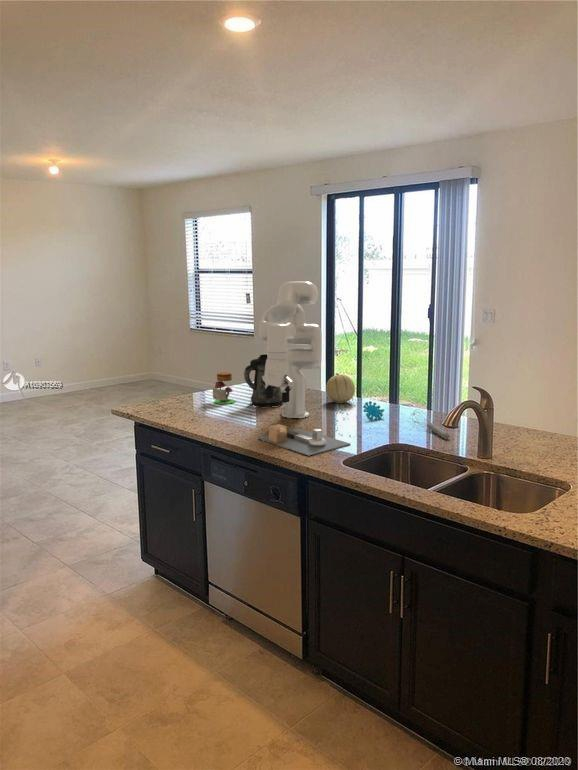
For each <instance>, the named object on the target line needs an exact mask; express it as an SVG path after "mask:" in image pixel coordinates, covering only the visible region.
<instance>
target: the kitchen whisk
mask: <svg viewBox="0 0 578 770" xmlns="http://www.w3.org/2000/svg"><path fill="white" fill-rule="evenodd" d="M417 410H420V411H417ZM416 413H417V414H419V415H421V414H422V413H423V414H424V415H425V416H426V418H425V417H423V416H420V418H421V419H423V420H424V421H423V420H421V419H420V418H419V417H418V416H417V414H416ZM415 415H416V416H415ZM414 417H415V419H416V421H417V422H416V421H415V420H414ZM409 419H410V420H411V421H412V422H413V421H414V422H413V423H417V424H419V425H421V426H422V427H424V428H426V427H427V428H428V429H429V430H431V431H432V432H434V433H435V434H437V435H438V436H439V437H440V436H441V437H440V438H442V439H443V438H444V439H443V440H446V439H447V440H448V441H450V434H449V433H448V432H446V431H445V430H444V429H442V428H440V427H439V426H438V425H437V424H435V423H433V422H432V421H431V419H430V418H429V416H428V415H427V414H426V413H425V412H423V410H421V409H418V408H417V409H416V411H412V418H411V417H409ZM426 419H428V420H426ZM419 420H420V421H421V422H423V423H425V426H424V424H422V423H420V422H418V421H419ZM425 421H426V422H425ZM448 438H449V439H448Z"/></svg>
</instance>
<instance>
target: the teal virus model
mask: <svg viewBox="0 0 578 770" xmlns="http://www.w3.org/2000/svg"><path fill="white" fill-rule="evenodd" d="M372 403H373V404H372ZM362 408H363V413H366V414H365V416H366V417H367V418H368V417H369V419H370V420H373V419H374V421H378V420H379V421H380V420H381V419H382V418H383V416H384V414H383V413H384V412H385V409H384V408H382V409H381V405H379V404H378V405H377V402H374V401H373V402H372V401H366V402H365V403H364V404H363V406H362Z"/></svg>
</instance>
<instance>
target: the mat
mask: <svg viewBox="0 0 578 770" xmlns="http://www.w3.org/2000/svg"><path fill="white" fill-rule="evenodd" d="M290 431H293V432H297V433H299V434H301V435H304V436H307V437H311V438H313V431H309V430H306V429H302V428H295V429H290ZM322 438H323V439H325V440H326V446H324V447H311V446H309V444H308V443H304V442H301V441H298V440H295V439H291V438H288V437H287V441H286V442H282V443H278V444H276V443H273V442H270V441H269V434H268V435H263V436H259V437H257V440H258V439H261V440H264V441H268V442H270V443H273V444H276V445H279V446H282V447H285V448H288V449H291V450H294V451H296V452H295V453H297V452H299V453H302V454H305V455H308V456H309V455H313V454H316V455H318V454H317V453H320V454H322V453H321V452H324V453H326V451H327V452H330V450H331V451H334V450H337V449H341V448H345V447H347V446H351V442H347V441H343V440H341V439H337V438H333V437H330V436H327V435H324V434H322ZM261 440H260V441H261ZM264 441H263V442H264ZM270 443H269V444H270ZM273 444H272V445H273ZM276 445H275V446H276ZM279 446H278V447H279ZM282 447H281V448H282ZM285 448H284V449H285ZM288 449H287V450H288ZM291 450H290V451H291ZM294 451H293V452H294ZM299 453H298V454H299ZM302 454H301V455H302ZM305 455H304V456H305ZM308 456H307V457H308ZM313 456H314V455H313ZM309 457H310V456H309Z"/></svg>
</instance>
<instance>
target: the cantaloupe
mask: <svg viewBox="0 0 578 770" xmlns="http://www.w3.org/2000/svg"><path fill="white" fill-rule="evenodd" d="M325 387H326V388H325V390H326V391H325V392H326V394H327V397H328V398H329V400H330V401H332V402H334V403H337V404H341V403H342V404H345V403H347V402H349V401H350V400H352V399H353V398H354V396H355V393H356V387H355V382H354V381H353V379H352V378H351V377H349V376H348V375H346V374H339V373H335V375H333V376H331V377H330V378H329V379H328V380H327V383H326V386H325Z"/></svg>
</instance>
